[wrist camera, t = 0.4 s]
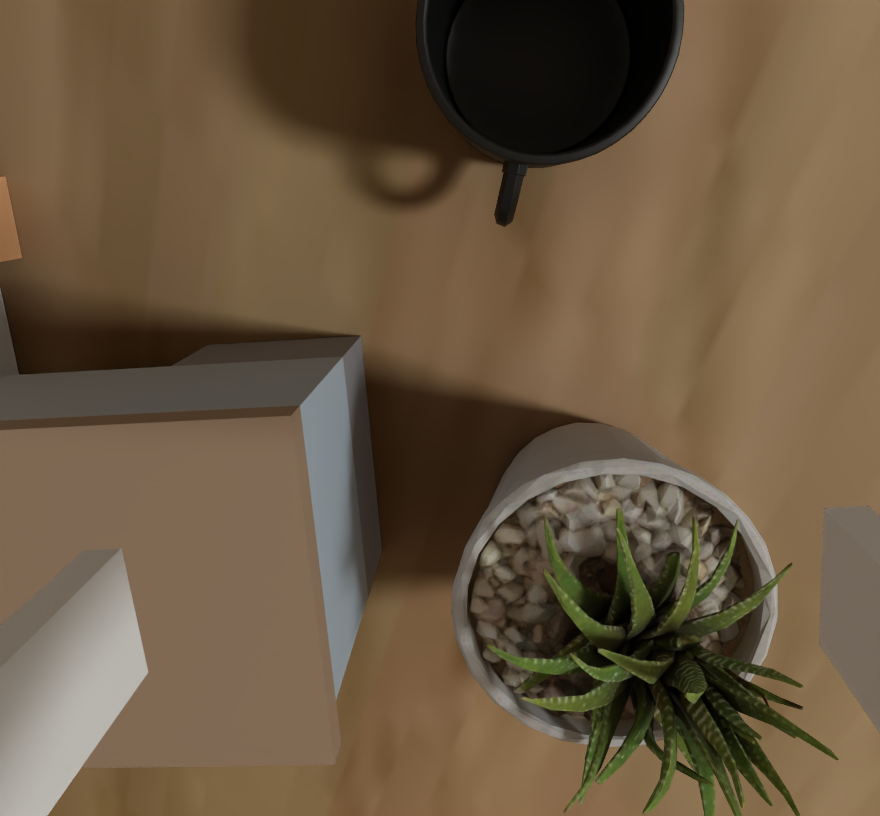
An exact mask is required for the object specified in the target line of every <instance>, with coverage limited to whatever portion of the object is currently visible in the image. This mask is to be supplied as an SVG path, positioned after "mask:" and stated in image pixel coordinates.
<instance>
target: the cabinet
mask: <svg viewBox="0 0 880 816" xmlns="http://www.w3.org/2000/svg"><path fill="white" fill-rule="evenodd" d="M117 548H122V553H123V558H124V562H125V567H126V572H127V576H128V581H129V585H130V590H131V595H132V599H133V604H134V608H135V613H136V618H137V622H138V627H139V631H140V636H141V641H142V645H143V650H144V654H145V659H146V664H147V668H148V674H147V675H146V676H145V678H144V679H143V681H142V682H141V683H140V685H139V686H138V688H137V689H136V691H135V692H134V693H133V695H132V696H131V698H130V699H129V700H128V702H127V703H126V705H125V706H124V708H123V709H122V710H121V712H120V713H119V715H118V716H117V717H116V719H115V720H114V722H113V723H112V725H111V726H110V727H109V729H108V730H107V732H106V733H105V734H104V736H103V737H102V739H101V740H100V742H99V743H98V744H97V746H96V747H95V749H94V750H93V751H92V753H91V754H90V756H89V757H88V759H87V760H86V761H85V763H84V764H83V766H82V767H81V768H120V767H207V766H294V765H335V762H336V759H337V755H338V752H339V748H340V744H341V738H340V730H339V722H338V713H337V705H336V699H337V695H338V692H339V689H340V686H341V683H342V679H343V676H344V673H345V670H346V667H347V663H348V660H349V657H350V654H351V651H352V647H353V644H354V641H355V638H356V635H357V631H358V628H359V625H360V622H361V619H362V615H363V612H364V609H365V606H366V603H367V599H368V596H369V593H370V590H371V586H372V583H373V580H374V577H375V574H376V570H377V567H378V564H379V561H380V558H381V554H382V544H381V533H380V523H379V513H378V503H377V493H376V483H375V472H374V462H373V452H372V442H371V432H370V422H369V411H368V401H367V391H366V381H365V371H364V361H363V350H362V340H361V336H350V337H333V338H315V339H298V340H281V341H264V342H246V343H229V344H212V345H207V346H205V347H203V348H202V349H200V350H198V351H196V352H195V353H193V354H191V355H189V356H188V357H186V358H184V359H182V360H181V361H179V362H177V363H175V364H174V365H172V366H167V367H149V368H131V369H113V370H95V371H77V372H59V373H41V374H23V375H5V376H0V626H1V625H2V624H3V623H4V622H5V621H6V620H7V619H8V618H9V617H11V616H12V615H13V614H14V613H15V612H16V611H17V610H18V609H19V608H21V607H22V606H23V605H24V604H25V603H26V602H27V601H28V600H29V599H31V598H32V597H33V596H34V595H35V594H36V593H37V592H38V591H39V590H40V589H42V588H43V587H44V586H45V585H46V584H47V583H48V582H49V581H50V580H52V579H53V578H54V577H55V576H56V575H57V574H58V573H59V572H60V571H62V570H63V569H64V568H65V567H66V566H67V565H68V564H69V563H70V562H71V561H73V560H74V559H75V558H76V557H77V556H78V555H79V554H80V553H81V552H83V551H84V550H99V549H117Z"/></svg>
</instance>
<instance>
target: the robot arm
mask: <svg viewBox="0 0 880 816" xmlns="http://www.w3.org/2000/svg"><path fill="white" fill-rule="evenodd" d="M819 645H820V646H821V648H822V649H823V651H824V652H825V654H826V655H827V657H828V658H829V659H830V661H831V662H832V664H833V665H834V667H835V668H836V670H837V671H838V673H839V674H840V676H841V677H842V679H843V680H844V681H845V683H846V684H847V686H848V687H849V689H850V690H851V692H852V693H853V695H854V696H855V698H856V699H857V701H858V702H859V703H860V705H861V706H862V708H863V709H864V711H865V712H866V714H867V715H868V717H869V718H870V720H871V721H872V723H873V724H874V725H875V727H876V728H877V730H878V731H879V733H880V515H878V514H877V513H876V512H875V511H874V510H873V509H872V508H871V507H870V506H855V507H838V508H824V522H823V550H822V577H821V604H820V632H819ZM147 674H148V668H147V664H146V659H145V654H144V650H143V645H142V641H141V636H140V631H139V627H138V622H137V618H136V613H135V608H134V604H133V599H132V595H131V590H130V585H129V581H128V576H127V572H126V567H125V562H124V558H123V553H122V548H117V549H99V550H84V551H83V552H81V553H80V554H79V555H78V556H77V557H76V558H75V559H74V560H73V561H71V562H70V563H69V564H68V565H67V566H66V567H65V568H64V569H63V570H62V571H60V572H59V573H58V574H57V575H56V576H55V577H54V578H53V579H52V580H50V581H49V582H48V583H47V584H46V585H45V586H44V587H43V588H42V589H40V590H39V591H38V592H37V593H36V594H35V595H34V596H33V597H32V598H31V599H29V600H28V601H27V602H26V603H25V604H24V605H23V606H22V607H21V608H19V609H18V610H17V611H16V612H15V613H14V614H13V615H12V616H11V617H9V618H8V619H7V620H6V621H5V622H4V623H3V624H2V625H1V626H0V816H47V815H48V814H49V812H50V811H51V810H52V808H53V807H54V805H55V804H56V802H57V801H58V800H59V798H60V797H61V795H62V794H63V793H64V791H65V790H66V788H67V787H68V785H69V784H70V783H71V781H72V780H73V778H74V777H75V776H76V774H77V773H78V771H79V770H80V768H81V767H82V766H83V764H84V763H85V761H86V760H87V759H88V757H89V756H90V754H91V753H92V751H93V750H94V749H95V747H96V746H97V744H98V743H99V742H100V740H101V739H102V737H103V736H104V734H105V733H106V732H107V730H108V729H109V727H110V726H111V725H112V723H113V722H114V720H115V719H116V717H117V716H118V715H119V713H120V712H121V710H122V709H123V708H124V706H125V705H126V703H127V702H128V700H129V699H130V698H131V696H132V695H133V693H134V692H135V691H136V689H137V688H138V686H139V685H140V683H141V682H142V681H143V679H144V678H145V676H146V675H147Z"/></svg>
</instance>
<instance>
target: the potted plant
mask: <svg viewBox="0 0 880 816" xmlns="http://www.w3.org/2000/svg"><path fill="white" fill-rule="evenodd" d="M793 565H794V564H793V563H790V564H789V565H788V566H787V567H786V568H784V569H783V570H782V571H781V572H780V573H779V574H778V575H777V576H776V575H775V572H774V568H773V565H772V562H771V559H770V556H769V553H768V550H767V546H766V543H765V542H764V540H763V539H762V537H761V536H760V534H759V533H758V531H757V530H756V528H755V527H754V525H753V524H752V522H751V520H750V519H749V517H748V516H747V515H746V514H745V513H744V512H743V511H742V510H741V509H740V508H739V507H738V506H737V505H736V504H735V503H734V502H733V501H732V500H731V499H730V498H729V497H728V496H727V495H726V494H725V493H723V492H722V491H720V490H719V489H718V488H716V487H715V486H714V485H712V484H711V483H710V482H708V481H707V480H705V479H704V478H702V477H700V476H698V475H696V474H695V473H693V472H691V471H689V470H687V469H685V468H683V467H682V466H680V465H678V464H676V463H675V462H673V461H672V460H670V459H669V458H668V457H666V456H665V455H663V454H662V453H661V452H659V451H658V450H656V449H655V448H654V447H652V446H651V445H649V444H648V443H646V442H644V441H643V440H641V439H639V438H638V437H636V436H634V435H633V434H631V433H629V432H627V431H625V430H623V429H619V428H616V427H612V426H608V425H605V424H601V423H573V424H568V425H564V426H561V427H557V428H554V429H552V430H550V431H548V432H546V433H544V434H542V435H540V436H538V437H536V438H534V439H533V440H532V441H531V442H530V443H529V444H528V445H527V446H525V447H524V448H523V449H522V450H521V451H520V452H519V453H518V454H517V456H516V457H515V458H514V460H513V461H512V463H511V464H510V466H509V467H508V468H507V470H506V471H505V473H504V474H503V476H502V478H501V481H500V483H499V485H498V487H497V489H496V491H495V493H494V496H493V498H492V500H491V502H490V504H489V506H488V508H487V509H486V511H485V513H484V514H483V516H482V518H481V520H480V521H479V523H478V525H477V526H476V528H475V530H474V532H473V533H472V535H471V537H470V539H469V540H468V542H467V544H466V546H465V549H464V552H463V555H462V558H461V561H460V565H459V568H458V571H457V574H456V577H455V580H454V583H453V597H452V615H453V622H454V629H455V636H456V641H457V643H458V645H459V647H460V650H461V652H462V654H463V657H464V659H465V661H466V664H467V666H468V668H469V671H470V673H471V674H472V676H473V677H474V678H475V679H476V680H477V682H478V683H479V684H480V685H481V687H482V688H483V689H484V690H485V692H486V693H487V694H488V695H489V697H490V698H491V699H492V700H493V701H494V703H496V704H497V705H498V706H500V707H501V708H503V709H504V710H505V711H507V712H508V713H509V714H511V715H512V716H513V717H515V718H516V719H517V720H519V721H520V722H522V723H523V724H524V725H526V726H528V727H531V728H533V729H535V730H538V731H540V732H542V733H545V734H547V735H550V736H552V737H554V738H557V739H559V740H562V741H568V742H573V743H579V744H585V745H588V747H587V752H586V756H585V765H584V772H583V778H582V786H581V788H580V790H579V791H578V792H577V794H576V795H575V796H574V798H573V799H572V800H571V802H570V803H569V804H568V806H567V807H566V808H565V810H564V813H565V812H566V811H567V810H568V809H569V808H570V807H571V806H572V805H573V804H574V803H575V802H576V801H577V800H578V799H579V798H580V801H579V803H581V804H583V800H584V797H585V794H586V791H587V789H588V788H589V787H590V785H591V784H592V782H593V780H594V779H595V777H596V775H597V773H598V772H599V770H600V768H601V766H602V764H603V761H604V759H605V756H606V754H607V751H608V749H609V747H616V746H621V747H620V748H619V750H618V751H617V753H616V754H615V755H614V757H613V758H612V759H611V760H610V762H609V763H608V764H607V766H606V767H605V768H604V769H603V771H602V772H601V773H600V775H599V776H598V777H597V778H596V780H595V781H596V782H597V783H598V784H601V783H603V782H604V781H605V780H606V779H608V778H609V777H610V776H611V775H612V774H613V773H614V772H615V771H616V770H618V769H619V768H620V767H621V766H622V765H623V764H624V762H625V761H626V760H627V759H628V758H629V756H630V755H631V754H632V753H633V752H634V750H635V749H636V748H637V747H638V746H639V745H644V744H646V745H647V747H648V748H649V749H650V750H651V751H652V752H653V753H654V754H655V755H656V756H657V757H658V758H659V759H660V760H661V761H662V767H661V774H660V780H659V782H658V784H657V786H656V788H655V790H654V792H653V793H652V795H651V797H650V799H649V801H648V803H647V805H646V807H645V809H644V811H643V813H644V814H646V813H648V812H649V811H651V810H652V809H654V808H655V807H656V806H657V804H658V803H659V802H660V800H661V799H662V798H663V796H664V795H665V793H666V792H667V791H668V789H669V787H670V784H671V781H672V778H673V775H674V772H675V769H677V770H678V771H680V772H682V773H684V774H686V775H688V776H689V777H691V778H693V779H695V780H697V781H698V783H699V788H700V793H701V799H702V804H703V810H704V815H705V816H714V812H715V784H714V774H715V776H716V778H717V780H718V782H719V784H720V786H721V788H722V790H723V793H724V795H725V797H726V799H727V801H728V803H729V805H730V807H731V809H732V811H733V813H734V815H735V816H742V814H741V811H740V808H739V806H738V803H737V800H736V797H735V795H734V792H733V789H732V786H731V784H730V781H729V778H728V775H727V773H726V770H725V767H724V765H723V762H724V764H725V766H726V767H727V769H728V771H729V772H730V774H731V776H732V780H733V783H734V786H735V790H736V793H737V796H738V799H739V803H740V806H741V807H742V808H743V806H744V797H743V793H742V788H741V784H740V779H739V775H738V771H737V769H738V770H739V771H740V773H741V774H742V775H743V776H744V777H745V778H746V780H747V781H748V782H749V783H750V784H751V785H752V787H753V788H754V789H755V790H756V791H757V792H758V793H759V795H760V796H761V797H762V798H763V799H764V800H765V801H766V802H767V803H768V804H769V805H770V806H773V805H772V803H771V801H770V799H769V797H768V795H767V793H766V791H765V789H764V787H763V785H762V783H761V781H760V780H759V778H758V776H757V774H756V772H755V770H754V768H753V766H752V764H751V762H752V763H753V764H754V765H755V766H756V767H757V768H758V769H759V770H760V771H761V772H762V773H763V774H764V775H765V776H766V777H767V778H768V779H769V780H770V781H771V782H772V784H773V785H774V786H775V787H776V788H777V789H778V790H779V791H780V792H781V794H782V795H783V796H784V797H785V799H786V801H787V802H788V804H789V805H790V807H791V808H792V810H793V812H794V813H795V815H796V816H800V814H799V812H798V810H797V808H796V806H795V804H794V801H793V799H792V797H791V795H790V793H789V791H788V790H787V788H786V787H785V785H784V784H783V782H782V780H781V779H780V777H779V776H778V774H777V773H776V771H775V769H774V768H773V766H772V765H771V763H770V762H769V760H768V758H767V757H766V755H765V754H764V752H763V750H762V749H761V747H760V746H759V744H758V743H757V741H756V739H755V738H754V737H756V738H758V739H759V740H763V738H762V737H761V736H760V735H759V734H758V733H756V732H755V731H754V730H753V729H751V728H750V727H749V726H748V725H747V724H746V723H745V722H744V721H743V719H742V718H741V717H740V715H739V714H738V712H740V713H743V714H745V715H748V716H750V717H753V718H755V719H758V720H760V721H763V722H765V723H768V724H770V725H773V726H774V727H776V728H778V729H779V730H781V731H783V732H785V733H786V734H788V735H790V736H791V737H793V738H796V737H799V738H801V739H802V740H804V741H806V742H807V743H809V744H811V745H812V746H814V747H816V748H817V749H819V750H821V751H822V752H824V753H825V754H827V755H829V756H830V757H832V758H834V759H835V760H839V759H838V758H837V757H836V756H835V754H834V753H833V752H832V751H831V750H830V749H828V748H827V747H826V746H824V745H823V744H821V743H820V742H819V741H817V740H816V739H814V738H813V737H812V736H810V735H809V734H807V733H806V732H804V731H803V730H801V729H800V728H799V727H797V726H796V725H794V724H793V723H791V722H790V721H789V720H787V719H786V718H784V717H783V716H781V715H780V714H779V713H777V712H776V711H774V710H773V709H771V708H770V707H769V705H768V702H767V700H770V701H774V702H777V703H780V704H784V705H787V706H790V707H794V708H797V709H801V710H803V707H802V706H800V705H797V704H795V703H793V702H790V701H788V700H785V699H783V698H780V697H778V696H776V695H774V694H772V693H770V692H768V691H766V690H764V689H762V688H760V687H759V686H757V685H755V684H753V683H751V682H750V681H751V679H752V677H753V676H754V674H756V675H760V676H764V677H768V678H772V679H775V680H779V681H783V682H786V683H788V684H791V685H794V686H797V687H799V688H801V687H803V685H802V684H800V683H798V682H796V681H794V680H792V679H790V678H789V677H787V676H785V675H783V674H781V673H779V672H777V671H775V670H773V669H770V668H766V667H763V666H760V665H761V663H762V662H763V660H764V659H765V657H766V656H767V652H768V649H769V646H770V642H771V639H772V636H773V632H774V629H775V626H776V622H777V583H778V582H779V581H780V580H781V579H782V578H783V577H784V575H785V574H786V573H787V572H788V571H789V570H790V569H791V567H792V566H793ZM756 696H757V697H760V698H763V700H764V701H765V703H766V704H764V703H763V702H762V701H761V700H760V699H758V698H757V697H756ZM737 711H738V712H737ZM663 739H664V743H665V744H664V752H663V751H662V750H661V749H660V748H659V746H658V745H657V744H656V741H659V740H663ZM677 746H678V748H679V749H680V751H681V752H682V754H683V755H684V756H685V758H686V759H687V761H688V762H689V764H690V765H691V767H692V768H693V770H694V771H695V772H694V771H693V770H691V769H689V768H688V767H686V766H685V765H683V764H681V763H680V762H678V761H677ZM721 759H722V760H721ZM722 761H723V762H722ZM750 761H751V762H750ZM713 773H714V774H713Z"/></svg>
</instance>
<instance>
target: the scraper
mask: <svg viewBox="0 0 880 816" xmlns="http://www.w3.org/2000/svg"><path fill="white" fill-rule="evenodd" d="M20 258H22V254H21V249H20V245H19V240H18V235H17V230H16V225H15V220H14V215H13V211H12V206H11V201H10V196H9V191H8V186H7V182H6V177H0V262H3V261H8V260H14V259H20ZM5 375H19V372H18V367H17V363H16V358H15V353H14V349H13V344H12V339H11V335H10V330H9V325H8V321H7V316H6V312H5V307H4V302H3V298H2V293H1V288H0V376H5Z"/></svg>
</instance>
